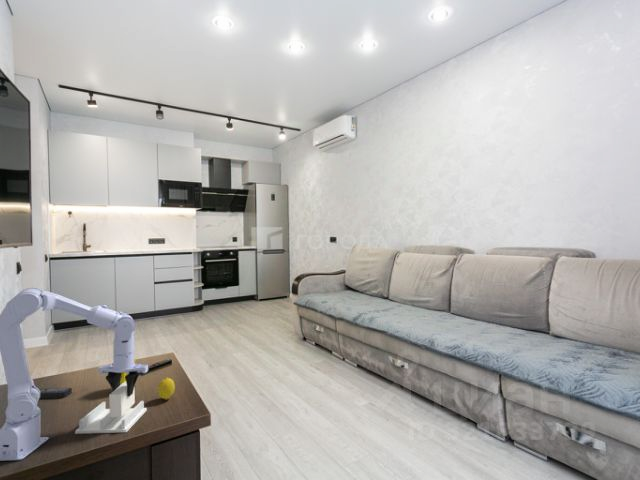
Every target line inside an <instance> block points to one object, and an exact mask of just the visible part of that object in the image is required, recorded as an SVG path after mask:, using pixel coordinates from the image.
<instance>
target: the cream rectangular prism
mask: <svg viewBox="0 0 640 480" xmlns="http://www.w3.org/2000/svg"><path fill="white" fill-rule="evenodd" d="M135 388H136V385H135V386H134V390H133V394H132V395H131V396H127V383H126V382H124V383H122V384H121V385H120V386H119V387H118V388H117V389H115V390H114V391H113V392H111V393H109V395H108V396H109V399H108V400H109V409H110V417H122V416H123V415H124V414H125V413H126V412H127V411H128V409H129V408H132V407H133V405H134V404H135V403H136V400H135V399H136V398H135V397H136V396H135V395H136V394H135V393H136V392H135Z"/></svg>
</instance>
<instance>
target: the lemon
mask: <svg viewBox="0 0 640 480" xmlns="http://www.w3.org/2000/svg"><path fill="white" fill-rule="evenodd" d="M158 384H159V385H158V387H157V392H158V396H159V397H160V398H161V399H163V400H165V401H167V400H168V399H169V398H171V397H172V396H173V394H175V389H176V388H175V387H176V386H175V385H176V384H175V382H174V380H173V379H172V378H170V377H165V378H163V379H161V381H160V382H159V383H158Z"/></svg>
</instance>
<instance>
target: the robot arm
mask: <svg viewBox="0 0 640 480" xmlns="http://www.w3.org/2000/svg"><path fill="white" fill-rule="evenodd" d="M41 308H42V310H41V311H42V312H44V311H51V310H60V311H64V312H67V313H69V314H73V315H76V316H81V317H83V318H85V319H86V322H87V324H90V325H92V326H93V325H94V326H95V327H100V328H101V329H104V330H108V331H110V330H111V331H112V330H113V332H114V338H113V343H112V344H113V347H112V348H113V353H112V354H113V355H112V356H113V357H112V359H113V363H112V364H113V365H112V364H107V365H101V366H100V367H98V375H103V374H107V375H106V376H105V380H106V382H107V383H108V384H109V385H110V389H111V388H112V391H114V390H115V389H117V388H118V387H119V386H120V381H121V374H122V373H129V374H128V375H126V376H125V379H126V383H127V396H131V395H132V394H133V390H134V386H135V387H136V383H137V381H138V378H139V376H140V374H141V373H142V374H146V373H148V372H149V365H148V364H140V363H136V364H134V360H135V337H134V335H135V333H134V331H135V330H136V322H135V320H134V319H133V317H132V316H131V315H129V314H128V313H123V311H120V310H119V311H116V310H113V309H110V308H108V306H107V305H105V304H103V305H99V304H98V305H94V306H89V305H86V304H83V303H81V302H78V301H76V300H74V299H71V298H68V297H66V296H63V295H60V294H58V293H56V292H55V293H54V292H51V291H48V290H42V289H39V288H37V287H28V288H25V289H23V290H21V291H19V292H18V293H17V294H16V295H15V296H14V297H13V298H11V299H10V300H8V301H7V302H6V304H5V306H4V308H3V310H2V311H1V312H0V356H1V362H2V365H3V370H4V376H5V379H6V380H5V381H6V383H7V384H6V385H7V407H6V410H5V417H6V418H5V422H4V424H3V426H2V427H1V428H0V462H1V461H3V462H4V461H22V460H23V459H25V458H26V457H27V456H28V455H30V454H32V453H33V452H34V451H35V450H37V449H38V448H39V447H40V446H42V445H43V444H44V443H46V442H47V441H48V440H49V439H50V438H49V437H47V436H46V437H45V436H44V437H43V436H42V435H41V433H42V432H41V431H42V430H41V429H42V426H41V425H42V423H41V417H42V416H41V415H42V412H41V408H40V407H39V406H38V403H39V400H40V399H39V398H40V391H39V390H40V389H39V388H38V387H36V386H35V383H34V379H33V378H32V377H31V372H30V367H29V364H28V363H29V362H28V357H27V353H26V347H25V343H24V338H23V334H22V329H21V328H22V327H21V324H22V323H23V322H24V321H25V320H26V319H27V318H28V317H29V316H32V315H33V314H34V313H35V312H37V311H39V310H40V309H41ZM41 436H42V437H41Z"/></svg>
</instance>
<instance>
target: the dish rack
mask: <svg viewBox="0 0 640 480" xmlns="http://www.w3.org/2000/svg"><path fill="white" fill-rule="evenodd" d="M144 402H145V401H144V400H140V402H139V403H137V405H135V406H134V407H130V408H129V409H128V411H127V412H126V413H125V414H124V415H123V416H122V417H110V408H106V403H107V401H102V402H101V403H99V404H98V406H96V407H95V408H93V409H92V410H91V411H90V412H89V413H87V414H85V416H84V417H82V418H81V419H79V421H78V428H76V430H74V434H75V435H77V434H109V433H110V434H111V433H114V434H115V433H117V434H118V433H127V432H128V431H129V430H130V429H131V428H132V427H133V426H134V425H135V424H136V423H137V422H138V420H139V419H140V418H141V417H142V416H143V415H144V414H145V413H146V412H147V411H148V409H147V407H145V403H144Z"/></svg>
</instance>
